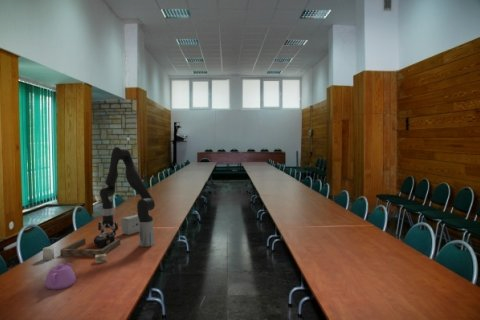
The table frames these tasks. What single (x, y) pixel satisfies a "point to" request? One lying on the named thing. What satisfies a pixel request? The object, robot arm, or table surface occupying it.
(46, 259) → the white capsule cylinder
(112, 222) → the robot arm
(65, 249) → the corral
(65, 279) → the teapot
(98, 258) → the birch block
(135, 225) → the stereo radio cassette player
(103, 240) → the camera
